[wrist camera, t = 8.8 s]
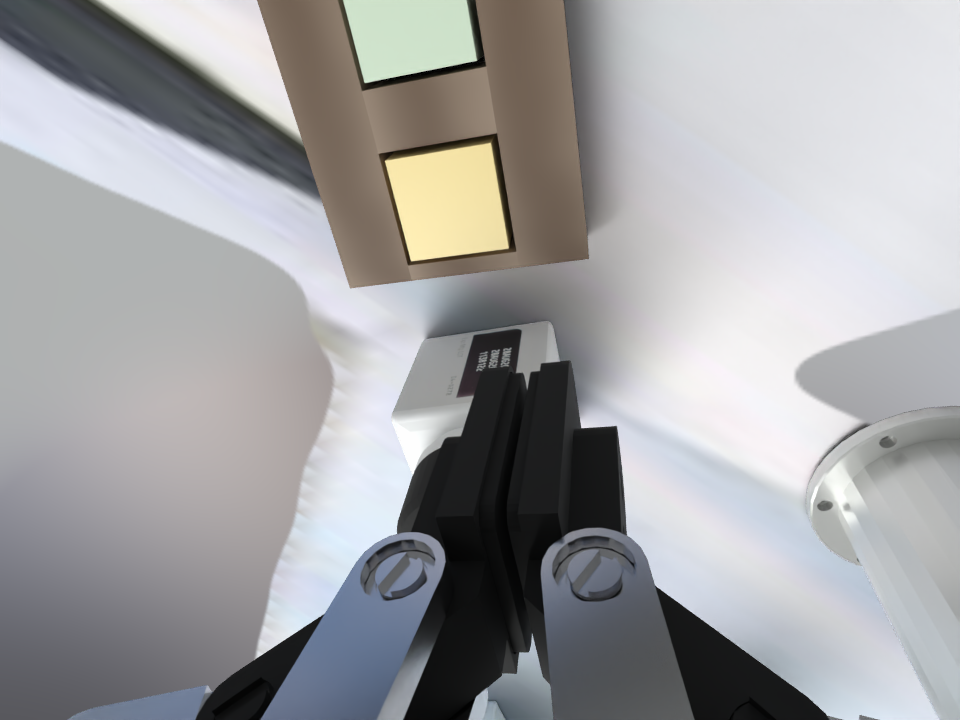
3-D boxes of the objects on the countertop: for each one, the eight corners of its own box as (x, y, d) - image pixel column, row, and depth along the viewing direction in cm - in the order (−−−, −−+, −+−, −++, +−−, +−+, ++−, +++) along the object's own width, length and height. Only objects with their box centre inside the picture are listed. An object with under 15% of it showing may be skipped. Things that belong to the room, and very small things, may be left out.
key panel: (519, -454, 19) (511, -521, 16) (587, 236, 30) (588, 258, 28) (188, -330, 21) (137, -372, 19) (366, 265, 33) (350, 288, 30)
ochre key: (498, 128, 28) (491, 142, 25) (513, 226, 30) (508, 248, 28) (401, 145, 29) (384, 160, 26) (423, 239, 31) (411, 261, 29)
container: (421, 337, 35) (353, 496, 24) (552, 317, 33) (542, 479, 22) (455, 439, 39) (409, 617, 28) (573, 426, 37) (575, 611, 26)
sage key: (464, -78, 24) (451, -86, 21) (485, 53, 26) (476, 60, 24) (353, -51, 25) (328, -55, 22) (383, 74, 27) (364, 83, 25)
